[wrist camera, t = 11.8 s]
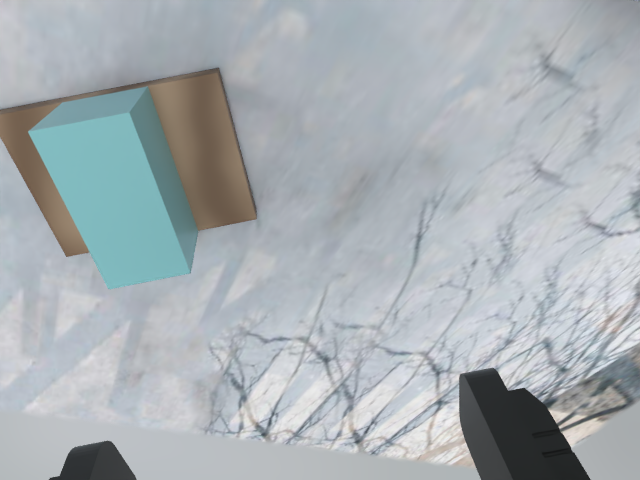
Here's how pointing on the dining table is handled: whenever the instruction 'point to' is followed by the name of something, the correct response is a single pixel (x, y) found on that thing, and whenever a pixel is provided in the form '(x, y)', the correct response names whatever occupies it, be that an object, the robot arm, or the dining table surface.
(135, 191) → the teal rectangular block
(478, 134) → the dining table surface
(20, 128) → the base plate
